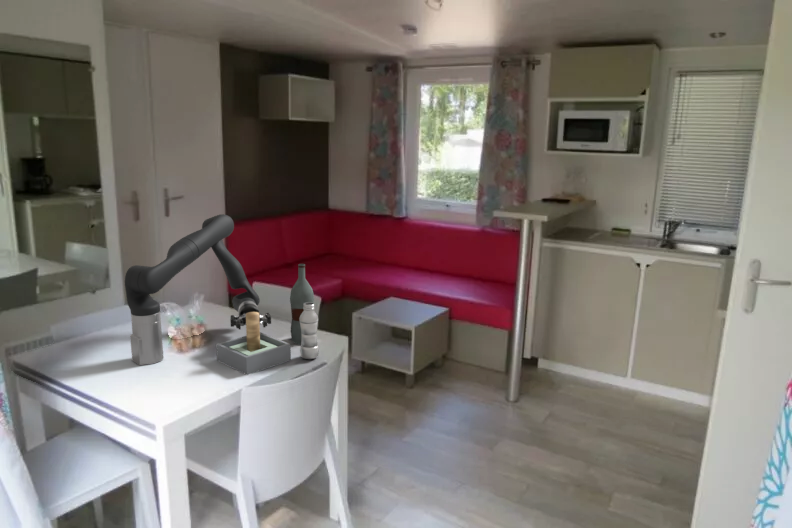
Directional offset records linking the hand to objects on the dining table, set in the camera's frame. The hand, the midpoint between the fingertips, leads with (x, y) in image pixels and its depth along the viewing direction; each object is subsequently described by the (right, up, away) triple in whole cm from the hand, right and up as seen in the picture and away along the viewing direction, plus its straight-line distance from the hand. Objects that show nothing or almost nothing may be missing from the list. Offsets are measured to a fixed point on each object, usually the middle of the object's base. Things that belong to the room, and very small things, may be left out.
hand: (252, 325), depth 199 cm
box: (+1, -12, -1) cm, 12 cm away
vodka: (+15, -8, +20) cm, 26 cm away
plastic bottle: (+20, -12, +2) cm, 23 cm away
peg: (+1, -11, -1) cm, 11 cm away
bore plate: (+1, -12, -1) cm, 12 cm away
